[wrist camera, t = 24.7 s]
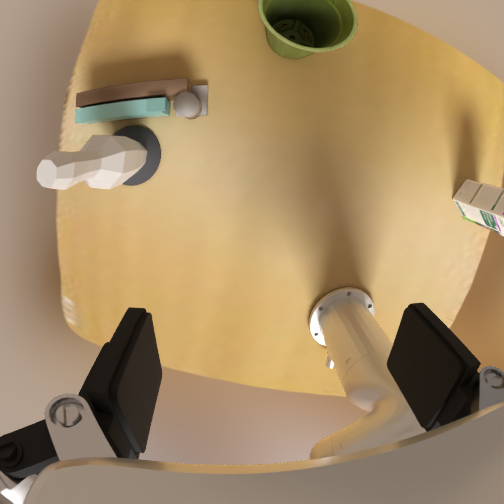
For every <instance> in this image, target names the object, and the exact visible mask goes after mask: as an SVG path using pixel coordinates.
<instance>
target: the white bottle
mask: <svg viewBox="0 0 504 504" xmlns="http://www.w3.org/2000/svg"><path fill="white" fill-rule="evenodd" d="M146 157H147V150H146V149H145V148H144V147H143V146H142V145H141V143H140V142H137V141H135V140H132V139H130V138H128V137H125V136H111V135H92V137H91V138H90V139H89V140H88V141H87V143H86V144H85V145H84V146H83V148H82V149H81V150H80V151H77V152H61V151H54V152H52V153H51V154H50V155H48V156H47V157H45V158H44V159H43V160H42V162H41V163H40V165H39V166H38V168H37V180H38V182H39V183H40V184H41V185H42V186H43V187H47V188H53V189H62V190H66V189H67V188H69V187H71V186H73V185H75V184H76V183H78V182H80V181H83V180H84V181H85V182H86V183H87V184H88V185H89V186H90V187H93V188H102V189H111V188H113V187H116V186H118V185H121V184H123V183H124V182H125V181H126V180H128V179H129V178H130V177H131V176H133V175H134V174H135V173H136V172H138V171H139V170H140V168H141V167H142V166H143V165H144V164H145V163H146Z"/></svg>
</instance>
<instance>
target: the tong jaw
mask: <svg viewBox="0 0 504 504" xmlns="http://www.w3.org/2000/svg"><path fill="white" fill-rule="evenodd" d="M157 116H170V102H169V101H168V99H167V98H166V97H164V98H152V99H142V100H133V101H124V102H117V103H110V104H103V105H97V106H91V107H85V108H80V109H76V114H75V123H81V124H93V123H100V122H107V121H115V120H123V119H133V118H144V117H157Z"/></svg>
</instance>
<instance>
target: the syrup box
mask: <svg viewBox="0 0 504 504" xmlns="http://www.w3.org/2000/svg"><path fill="white" fill-rule="evenodd" d="M452 199H453V201H454V202H455V204H456V206H457V208H458V209H459V211H460V213H461V215H462V217H463V218H464V219H466V220H468V221H471V222H473V223H475V224H478V225H480V226H482V227H484V228H487V229H489V230H491V231H493V232H495V233H498V234H500V235H502V236H504V189H502V188H499V187H495V186H492V185H488V184H484V183H480V182H477V181H472V180H468V179H466V180H465V182H464V183H463V184H462V186H461V187H460V188H459V190H458V191H457V193H456V194H455V195H454V197H453V198H452Z"/></svg>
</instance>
